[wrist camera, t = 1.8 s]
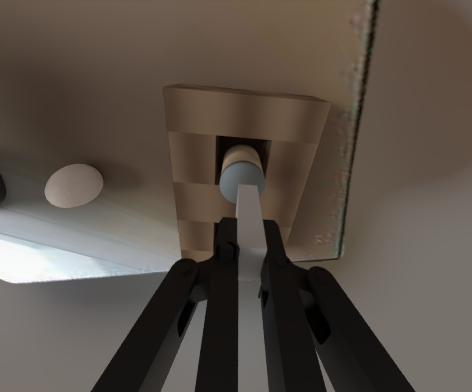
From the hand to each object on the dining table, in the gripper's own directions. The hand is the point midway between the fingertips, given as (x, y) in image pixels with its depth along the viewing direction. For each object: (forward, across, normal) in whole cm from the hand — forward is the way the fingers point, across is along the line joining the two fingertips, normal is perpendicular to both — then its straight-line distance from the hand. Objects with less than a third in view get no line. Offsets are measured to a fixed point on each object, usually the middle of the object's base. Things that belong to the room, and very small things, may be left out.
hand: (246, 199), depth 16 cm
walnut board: (+13, 0, -6) cm, 14 cm away
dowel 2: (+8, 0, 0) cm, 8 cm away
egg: (+13, -22, -6) cm, 27 cm away
